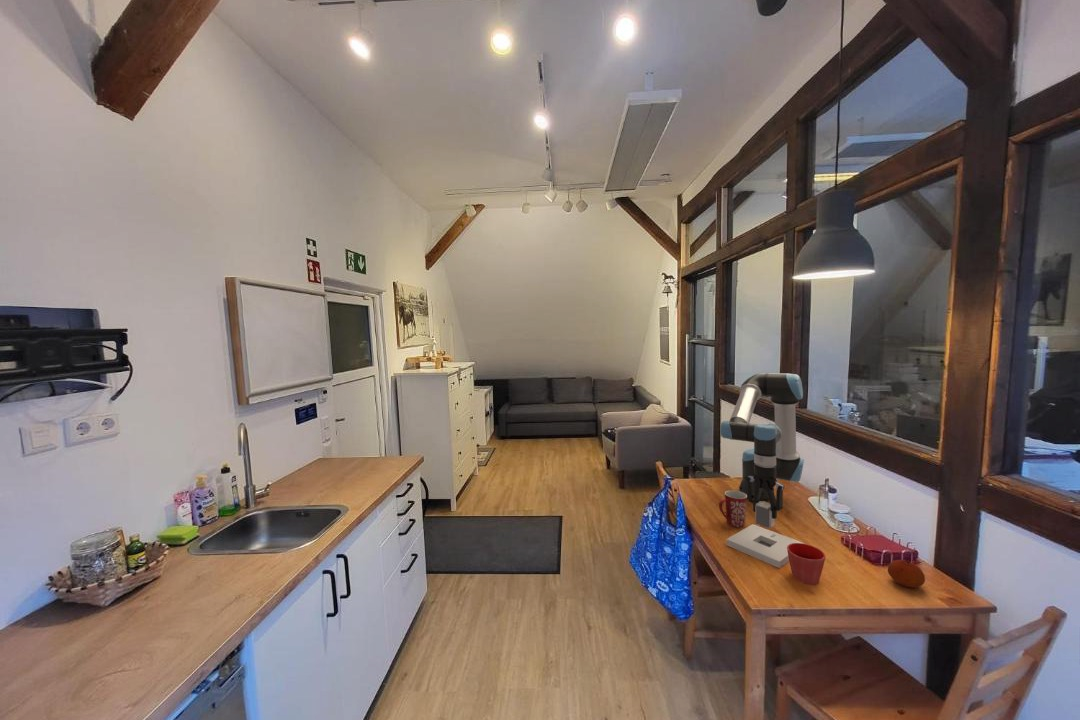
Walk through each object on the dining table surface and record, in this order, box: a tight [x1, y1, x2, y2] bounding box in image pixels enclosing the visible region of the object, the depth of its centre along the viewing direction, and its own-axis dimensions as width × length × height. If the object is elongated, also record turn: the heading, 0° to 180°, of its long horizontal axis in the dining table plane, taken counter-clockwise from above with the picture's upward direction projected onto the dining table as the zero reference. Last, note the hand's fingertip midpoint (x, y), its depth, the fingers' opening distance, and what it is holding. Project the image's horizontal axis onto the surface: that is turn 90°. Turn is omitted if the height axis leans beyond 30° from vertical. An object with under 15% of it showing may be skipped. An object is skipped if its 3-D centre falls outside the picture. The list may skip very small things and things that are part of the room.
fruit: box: [887, 559, 926, 589], centre depth 132 cm, size 9×9×8 cm
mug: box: [718, 489, 748, 528], centre depth 176 cm, size 13×9×14 cm
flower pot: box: [787, 542, 826, 586], centre depth 137 cm, size 11×11×10 cm
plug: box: [755, 500, 771, 529], centre depth 156 cm, size 5×5×8 cm
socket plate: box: [726, 523, 806, 569], centre depth 157 cm, size 20×20×3 cm
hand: (764, 523), depth 156 cm, fingers closed on plug, 4 cm apart
